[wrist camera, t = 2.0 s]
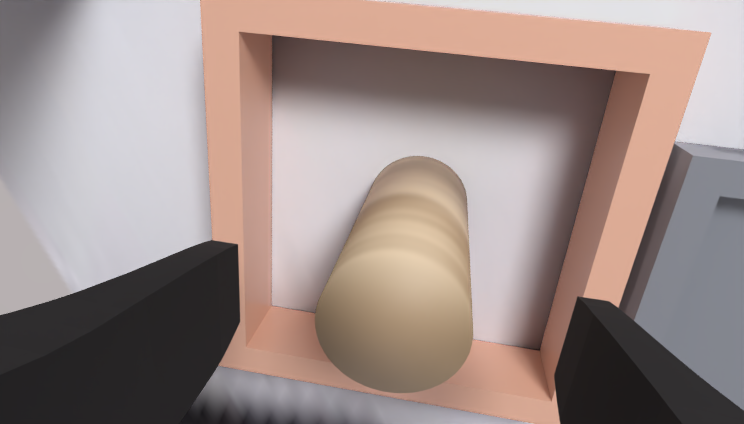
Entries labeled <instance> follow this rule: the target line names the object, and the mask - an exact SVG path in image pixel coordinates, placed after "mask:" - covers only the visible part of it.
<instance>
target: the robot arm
mask: <svg viewBox="0 0 744 424" xmlns="http://www.w3.org/2000/svg"><path fill="white" fill-rule="evenodd" d="M239 323H240V292H239V258H238V244H234V243H227V242H221V241H214V240H211V241H207V242H204V243H201V244H198V245H195V246H193V247H190V248H188V249H185V250H183V251H180V252H178V253H175V254H173V255H170V256H168V257H166V258H163V259H161V260H158V261H156V262H154V263H151V264H149V265H146V266H144V267H141V268H139V269H137V270H134V271H132V272H129V273H127V274H124V275H122V276H119V277H116V278H114V279H111V280H108V281H106V282H103V283H100V284H98V285H95V286H92V287H90V288H87V289H84V290H82V291H79V292H76V293H73V294H70V295H67V296H65V297H61V298H58V299H56V300H52V301H49V302H45V303H42V304H39V305H35V306H32V307H28V308H25V309H22V310H18V311H15V312H11V313H8V314H3V315H0V424H179V423H180V422H181V420H182V419H183V417H184V416H185V414H186V413H187V411H188V410H189V408H190V407H191V405H192V404H193V403H194V401H195V400H196V398H197V397H198V395H199V394H200V392H201V391H202V389H203V388H204V386H205V385H206V383H207V382H208V380H209V379H210V377H211V376H212V374H213V373H214V371H215V370H216V368H217V366H218V365H219V363H220V362H221V360H222V358H223V356H224V355H225V353H226V351H227V349H228V347H229V345H230V343H231V341H232V338H233V336H234V334H235V332H236V330H237V328H238V326H239ZM554 380H555V389H556V398H557V406H558V413H559V420H560V424H744V410H742V409H741V408H740V407H739V406H737V405H736V404H735V403H733V402H732V401H731V400H729V399H728V398H727V397H725V396H724V395H723V394H722V393H720V392H719V391H718V390H716V389H715V388H714V387H712V386H711V385H710V384H709V383H707V382H706V381H705V380H704V379H702V378H701V377H700V376H699V375H697V374H696V373H695V372H694V371H692V370H691V369H690V368H689V367H688V366H686V365H685V364H684V363H683V362H682V361H680V360H679V359H678V358H677V357H676V356H674V355H673V354H672V353H671V352H670V351H669V350H667V349H666V348H665V347H664V346H663V345H662V344H660V343H659V342H658V341H657V340H656V339H655V338H653V337H652V336H651V335H650V334H649V333H648V332H646V331H645V330H644V329H643V328H642V327H641V326H639V325H638V324H637V323H636V322H635V321H634V320H632V319H631V318H630V317H629V316H628V315H626V314H625V313H624V312H623V311H622V310H620V309H619V308H618V307H616V306H615V305H614V304H612V303H611V302H609V301H605V300H598V299H592V298H585V297H579V296H577V300H576V303H575V306H574V310H573V313H572V316H571V320H570V323H569V326H568V330H567V333H566V337H565V340H564V343H563V347H562V350H561V353H560V357H559V360H558V363H557V367H556V370H555V373H554Z"/></svg>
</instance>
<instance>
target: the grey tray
mask: <svg viewBox="0 0 744 424" xmlns="http://www.w3.org/2000/svg"><path fill="white" fill-rule="evenodd" d="M618 308H619V309H620V310H622V311H623V312H624V313H625V314H626V315H628V316H629V317H630V318H631V319H632V320H634V321H635V322H636V323H637V324H638V325H639V326H641V327H642V328H643V329H644V330H645V331H646V332H648V333H649V334H650V335H651V336H652V337H653V338H655V339H656V340H657V341H658V342H659V343H660V344H662V345H663V346H664V347H665V348H666V349H667V350H669V351H670V352H671V353H672V354H673V355H674V356H676V357H677V358H678V359H679V360H680V361H682V362H683V363H684V364H685V365H686V366H688V367H689V368H690V369H691V370H692V371H694V372H695V373H696V374H697V375H699V376H700V377H701V378H702V379H704V380H705V381H706V382H707V383H709V384H710V385H711V386H712V387H714V388H715V389H716V390H718V391H719V392H720V393H722V394H723V395H724V396H725V397H727V398H728V399H729V400H731V401H732V402H733V403H735V404H736V405H737V406H739V407H740V408H741V409H742V410H744V150H743V149H734V148H725V147H717V146H708V145H700V144H691V143H683V142H674V145H673V148H672V151H671V154H670V157H669V160H668V163H667V166H666V169H665V172H664V175H663V177H662V180H661V183H660V186H659V189H658V192H657V195H656V198H655V201H654V204H653V207H652V210H651V213H650V216H649V219H648V222H647V225H646V228H645V231H644V234H643V237H642V239H641V242H640V245H639V248H638V251H637V254H636V257H635V260H634V263H633V266H632V269H631V272H630V275H629V278H628V281H627V284H626V287H625V290H624V293H623V296H622V299H621V302H620V304H619V307H618Z"/></svg>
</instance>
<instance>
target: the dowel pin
mask: <svg viewBox="0 0 744 424" xmlns="http://www.w3.org/2000/svg"><path fill="white" fill-rule="evenodd" d="M315 329H316V334H317V337H318V340H319V343H320V345H321V347H322V349H323V351H324V353H325V354H326V356H327V357H328V359H329V360H330V361H331V362H332V363H333V364H334V366H335V367H337V368H338V369H339V370H340V371H341V372H342V373H343V374H345V375H346V376H347V377H349V378H351V379H352V380H354V381H356V382H357V383H360V384H362V385H364V386H366V387H369V388H372V389H375V390H379V391H383V392H390V393H414V392H419V391H424V390H427V389H430V388H433V387H435V386H438V385H440V384H442V383H443V382H445V381H447V380H448V379H449V378H451V377H452V376H453V375H454V374H456V372H457V371H458V370H459V369H460V368H461V367H462V365H463V364H464V362H465V361H466V359H467V357H468V355H469V353H470V350H471V346H472V341H473V321H472V299H471V277H470V255H469V233H468V212H467V196H466V191H465V188H464V185H463V183H462V181H461V180H460V178H459V177H458V175H457V174H456V173H455V172H454V171H453V170H452V169H451V168H450V167H448V166H447V165H445V164H444V163H442V162H440V161H438V160H436V159H433V158H429V157H424V156H411V157H406V158H402V159H399V160H397V161H395V162H392V163H391V164H389V165H388V166H387V167H385V168H384V169H383V170H382V171H381V172H380V173H379V175H378V176H377V178H376V179H375V181H374V183H373V185H372V188H371V190H370V192H369V194H368V196H367V198H366V200H365V203H364V205H363V207H362V209H361V211H360V213H359V215H358V217H357V220H356V222H355V224H354V226H353V228H352V230H351V232H350V234H349V237H348V239H347V241H346V243H345V245H344V247H343V249H342V251H341V254H340V256H339V258H338V260H337V262H336V264H335V266H334V269H333V271H332V273H331V275H330V277H329V279H328V281H327V283H326V286H325V288H324V290H323V292H322V294H321V296H320V298H319V300H318V304H317V307H316V312H315Z"/></svg>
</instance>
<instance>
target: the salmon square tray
mask: <svg viewBox="0 0 744 424" xmlns="http://www.w3.org/2000/svg"><path fill="white" fill-rule="evenodd" d="M200 7H201V26H202V46H203V66H204V85H205V105H206V125H207V144H208V164H209V184H210V203H211V223H212V240H214V241H221V242H227V243H234V244H238V258H239V292H240V323H239V326H238V328H237V330H236V332H235V334H234V336H233V338H232V341H231V343H230V345H229V347H228V349H227V351H226V353H225V355H224V356H223V358H222V360H221V362H220V363H219V366H223V367H228V368H234V369H239V370H245V371H250V372H256V373H261V374H266V375H272V376H277V377H283V378H288V379H294V380H299V381H305V382H310V383H316V384H321V385H326V386H332V387H337V388H343V389H348V390H354V391H359V392H365V393H370V394H376V395H381V396H386V397H392V398H397V399H403V400H408V401H414V402H419V403H425V404H430V405H436V406H441V407H446V408H452V409H457V410H463V411H468V412H474V413H479V414H485V415H490V416H496V417H501V418H507V419H512V420H517V421H523V422H528V423H534V424H560V420H559V413H558V406H557V398H556V389H555V380H554V373H555V370H556V367H557V363H558V360H559V357H560V353H561V350H562V347H563V343H564V340H565V337H566V333H567V330H568V326H569V323H570V320H571V316H572V313H573V310H574V306H575V303H576V300H577V296H579V297H585V298H592V299H598V300H605V301H609V302H611V303H612V304H614V305H615V306H616V307H619V304H620V302H621V299H622V296H623V293H624V290H625V287H626V284H627V281H628V278H629V275H630V272H631V269H632V266H633V263H634V260H635V257H636V254H637V251H638V248H639V245H640V242H641V239H642V237H643V234H644V231H645V228H646V225H647V222H648V219H649V216H650V213H651V210H652V207H653V204H654V201H655V198H656V195H657V192H658V189H659V186H660V183H661V180H662V177H663V175H664V172H665V169H666V166H667V163H668V160H669V157H670V154H671V151H672V148H673V145H674V142H675V139H676V136H677V133H678V130H679V127H680V124H681V121H682V118H683V115H684V112H685V110H686V107H687V104H688V101H689V98H690V95H691V92H692V89H693V86H694V83H695V80H696V77H697V74H698V71H699V68H700V65H701V62H702V59H703V56H704V53H705V50H706V48H707V45H708V42H709V39H710V36H711V33H710V32H701V31H693V30H684V29H675V28H666V27H656V26H645V25H634V24H623V23H612V22H602V21H591V20H580V19H569V18H559V17H548V16H537V15H526V14H516V13H505V12H494V11H483V10H472V9H462V8H451V7H440V6H429V5H419V4H408V3H397V2H386V1H375V0H200ZM272 35H277V36H286V37H296V38H306V39H315V40H325V41H335V42H344V43H354V44H364V45H373V46H383V47H393V48H402V49H412V50H422V51H432V52H441V53H451V54H461V55H470V56H480V57H490V58H499V59H509V60H519V61H528V62H538V63H548V64H558V65H567V66H577V67H587V68H596V69H606V70H616V73H615V77H614V80H613V84H612V88H611V91H610V95H609V99H608V102H607V106H606V110H605V113H604V117H603V120H602V124H601V128H600V131H599V135H598V139H597V142H596V146H595V150H594V153H593V157H592V161H591V164H590V168H589V172H588V175H587V179H586V183H585V186H584V190H583V194H582V197H581V201H580V205H579V208H578V212H577V216H576V219H575V223H574V226H573V230H572V234H571V237H570V241H569V245H568V248H567V252H566V256H565V259H564V263H563V267H562V270H561V274H560V278H559V281H558V285H557V289H556V292H555V296H554V300H553V303H552V307H551V311H550V314H549V318H548V321H547V325H546V329H545V332H544V336H543V340H542V343H541V347H540V351H539V350H533V349H527V348H521V347H515V346H509V345H503V344H497V343H491V342H485V341H479V340H473V341H472V346H471V350H470V353H469V355H468V357H467V359H466V361H465V362H464V364H463V365H462V367H461V368H460V369H459V370H458V371H457V372H456V374H454V375H453V376H452V377H451V378H449V379H448V380H447V381H445V382H443V383H442V384H440V385H438V386H435V387H433V388H430V389H427V390H424V391H419V392H414V393H390V392H383V391H379V390H375V389H372V388H369V387H366V386H364V385H362V384H360V383H357V382H356V381H354V380H352V379H351V378H349V377H347V376H346V375H345V374H343V373H342V372H341V371H340V370H339V369H338V368H337V367H335V366H334V364H333V363H332V362H331V361H330V360H329V359H328V357H327V356H326V354H325V353H324V351H323V349H322V347H321V345H320V343H319V340H318V337H317V334H316V329H315V313H311V312H305V311H299V310H293V309H287V308H281V307H275V306H271V289H272Z"/></svg>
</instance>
